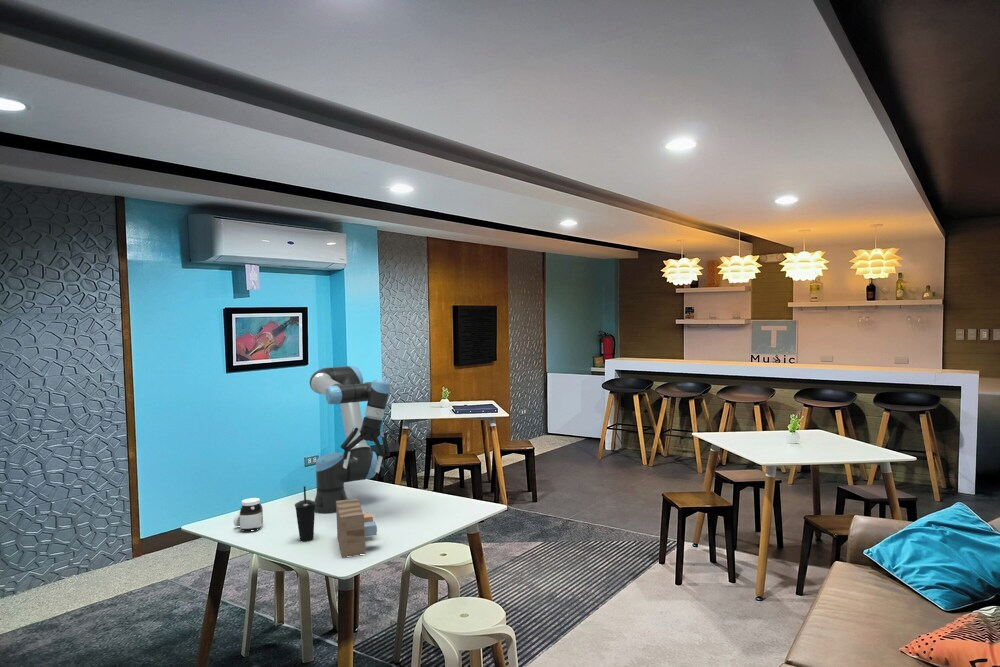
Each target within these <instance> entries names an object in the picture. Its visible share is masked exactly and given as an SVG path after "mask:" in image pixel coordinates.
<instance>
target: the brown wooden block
mask: <svg viewBox="0 0 1000 667" xmlns="http://www.w3.org/2000/svg"><path fill="white" fill-rule="evenodd" d="M335 513H336V533H337V534H336V536H337V542H338V547H339V551H340V552H339V553H340V557H345V558H348V557H347V556H352V557H355V556H354V555H359V556H361V555H360V554H365V555H366V540H365V539H366V537H365V534H364V514H365V513H364V512H363V509H362V507H361V504H360V501H359V499H358V498H351V499H349V498H348V500H341V501H336V512H335Z"/></svg>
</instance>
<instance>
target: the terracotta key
mask: <svg viewBox="0 0 1000 667" xmlns="http://www.w3.org/2000/svg"><path fill="white" fill-rule="evenodd" d="M363 514H364V523H365V522H373V521H374V516H373V514H372V513H371V512H370V513H368V512H367V513H363Z"/></svg>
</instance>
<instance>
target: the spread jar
mask: <svg viewBox="0 0 1000 667" xmlns="http://www.w3.org/2000/svg"><path fill="white" fill-rule="evenodd" d="M263 512H264V511H263V506H262V504H261V499H260V498H259V497H250V498H245V499H243V500H241V507H240V511H239V512H237V514H236V515H235V517H234V519H233V526H235V527H236V526H240V527H239V528H240V530H241V531H242V530H244V531H251V530H257V529H260V528H261V527H262V528H263V526H264V513H263ZM262 528H261V529H262ZM261 529H260V530H261ZM244 531H243V532H244ZM257 531H258V530H257Z"/></svg>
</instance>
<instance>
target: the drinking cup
mask: <svg viewBox="0 0 1000 667" xmlns="http://www.w3.org/2000/svg"><path fill="white" fill-rule="evenodd" d="M306 493H307V489H306V486H304V485H303V499H302V500H300V501H298V502H296V503H294V507H295V512H296V522H297V527H298V535H299V536H298V537H299V541H300V542H301V541H302V543H306V542H307V541H308V542H310V541H313V540H314V533H315V514H316V512H315V504H316V502H315V500H311V499H307V494H306ZM308 542H307V543H308Z"/></svg>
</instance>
